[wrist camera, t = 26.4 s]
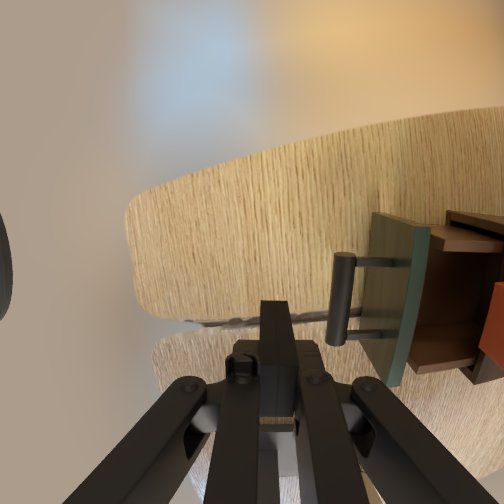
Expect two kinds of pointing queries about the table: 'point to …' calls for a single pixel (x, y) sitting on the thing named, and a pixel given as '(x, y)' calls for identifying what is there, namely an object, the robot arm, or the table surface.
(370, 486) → the flower pot
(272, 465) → the stand
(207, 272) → the table surface
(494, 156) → the table surface
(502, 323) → the block
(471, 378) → the cabinet
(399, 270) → the drawer
